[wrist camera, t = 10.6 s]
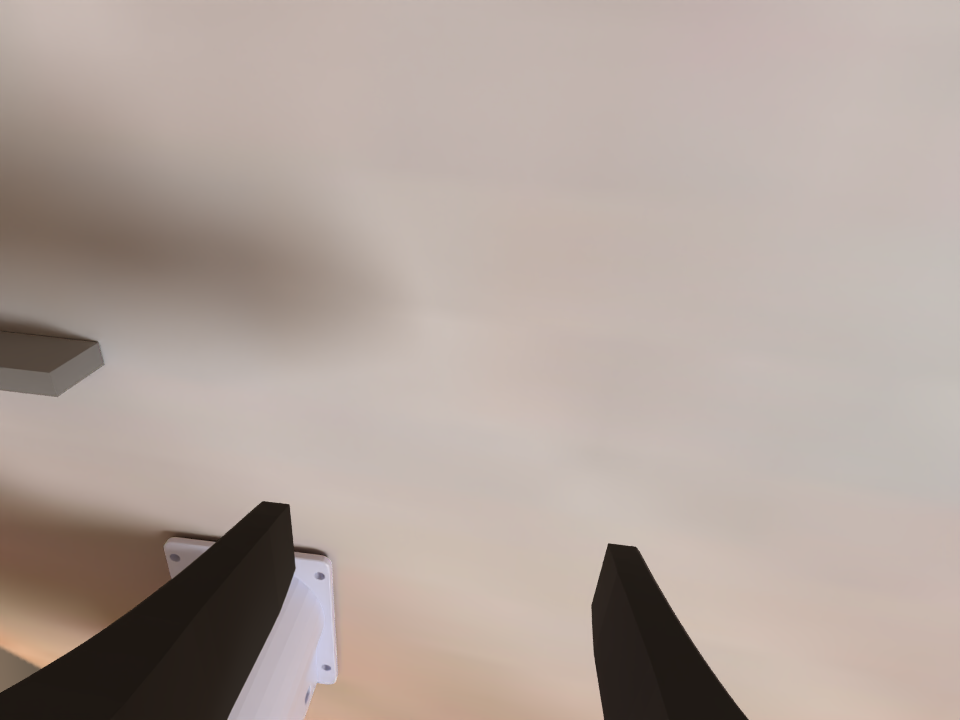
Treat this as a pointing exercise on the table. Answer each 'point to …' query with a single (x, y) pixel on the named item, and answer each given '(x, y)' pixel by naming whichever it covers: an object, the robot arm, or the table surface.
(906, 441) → the table surface
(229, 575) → the robot arm
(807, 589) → the table surface
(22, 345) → the dock
